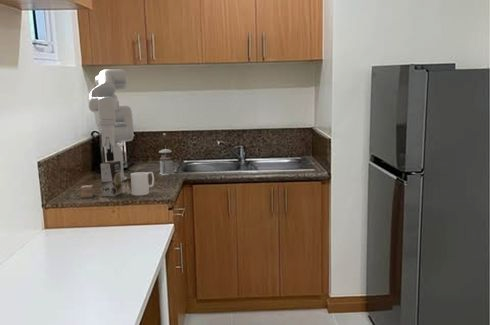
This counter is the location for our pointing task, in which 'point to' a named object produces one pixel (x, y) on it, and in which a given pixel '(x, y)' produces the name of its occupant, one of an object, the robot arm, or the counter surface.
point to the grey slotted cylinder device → (166, 163)
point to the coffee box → (111, 178)
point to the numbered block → (87, 191)
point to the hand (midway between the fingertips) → (110, 160)
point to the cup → (140, 183)
